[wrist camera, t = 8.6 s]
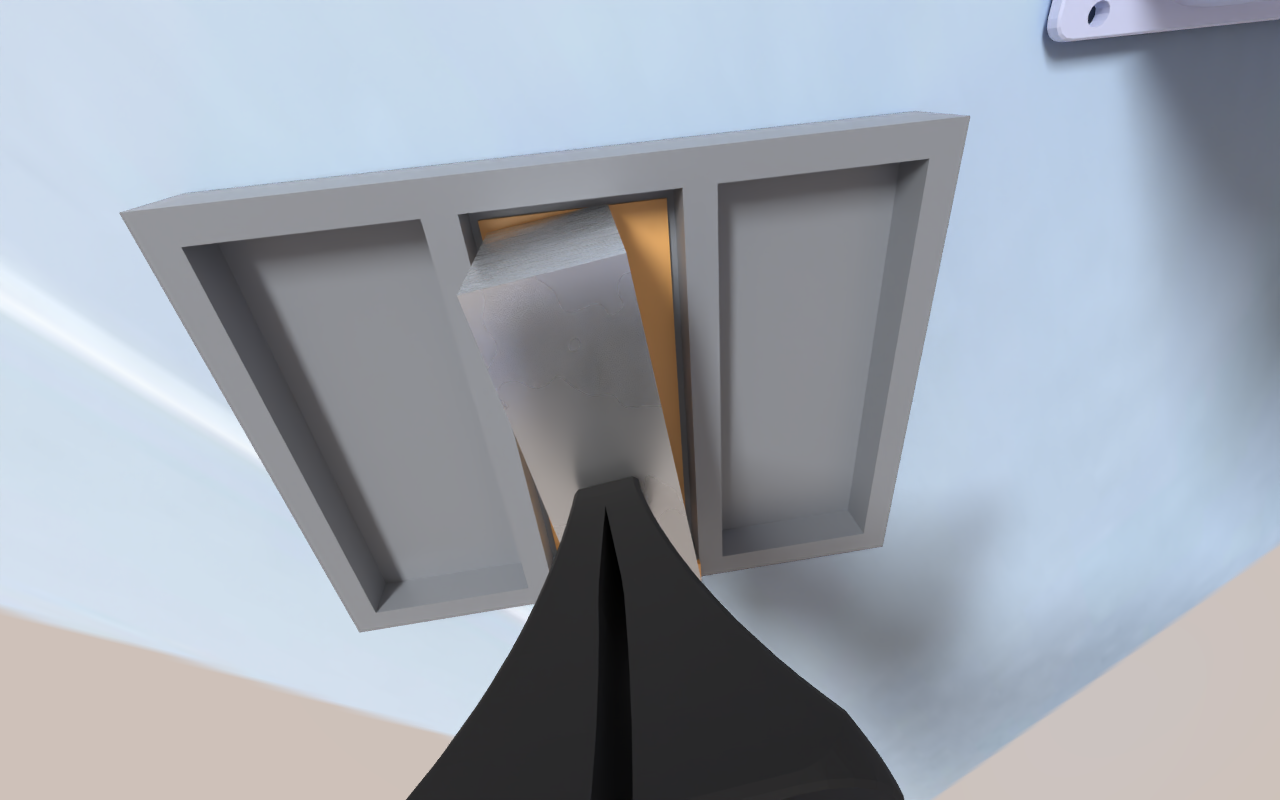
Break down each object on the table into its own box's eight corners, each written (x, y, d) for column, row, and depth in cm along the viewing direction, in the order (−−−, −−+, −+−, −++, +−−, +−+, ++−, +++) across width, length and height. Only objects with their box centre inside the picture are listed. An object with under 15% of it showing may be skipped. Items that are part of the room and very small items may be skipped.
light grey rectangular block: (607, 202, 13) (626, 253, 9) (677, 502, 18) (709, 614, 14) (487, 232, 13) (456, 295, 9) (592, 523, 18) (600, 640, 14)
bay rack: (914, 111, 14) (976, 116, 12) (853, 505, 21) (885, 551, 19) (184, 193, 13) (112, 214, 11) (379, 581, 20) (358, 638, 18)
